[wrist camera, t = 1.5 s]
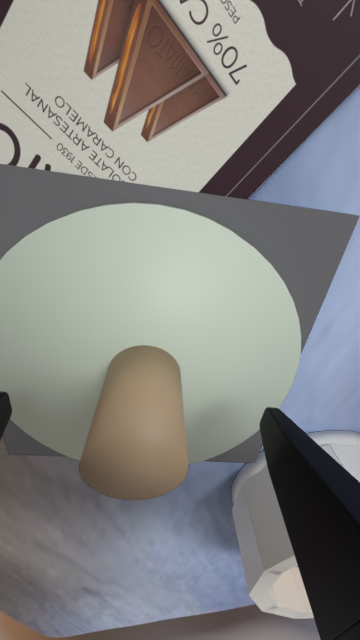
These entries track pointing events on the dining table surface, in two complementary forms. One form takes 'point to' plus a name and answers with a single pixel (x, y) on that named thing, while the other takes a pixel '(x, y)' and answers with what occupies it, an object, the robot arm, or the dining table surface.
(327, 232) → the mat
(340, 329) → the dining table surface
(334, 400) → the dining table surface
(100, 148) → the chocolate bar
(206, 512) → the dining table surface
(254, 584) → the bowl
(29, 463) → the dining table surface
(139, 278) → the lid
